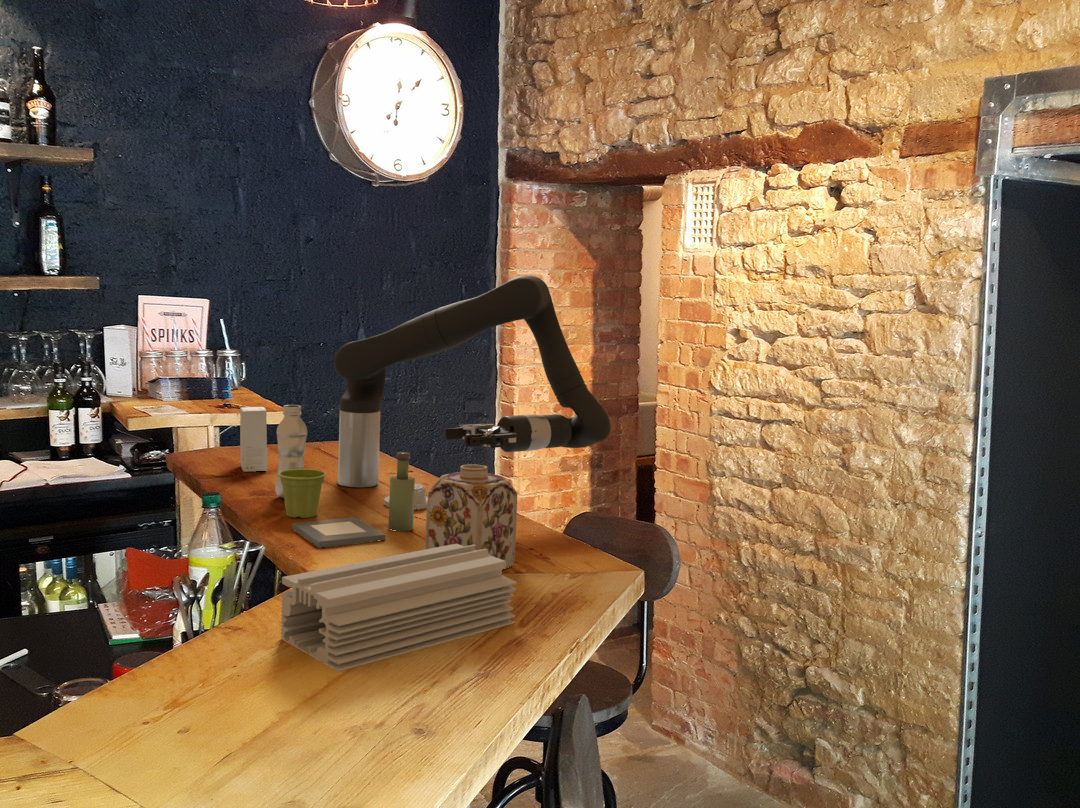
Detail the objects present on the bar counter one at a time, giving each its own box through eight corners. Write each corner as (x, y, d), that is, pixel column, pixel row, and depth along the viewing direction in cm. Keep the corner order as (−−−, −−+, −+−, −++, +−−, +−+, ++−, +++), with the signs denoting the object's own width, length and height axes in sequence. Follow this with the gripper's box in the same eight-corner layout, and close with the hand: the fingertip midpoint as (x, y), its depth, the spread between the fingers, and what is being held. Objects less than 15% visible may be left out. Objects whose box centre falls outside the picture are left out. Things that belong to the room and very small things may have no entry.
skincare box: (267, 472, 250) (268, 410, 248) (241, 472, 248) (242, 410, 246) (264, 465, 258) (265, 405, 256) (239, 465, 256) (239, 405, 254)
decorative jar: (477, 582, 174) (481, 476, 171) (422, 568, 180) (425, 465, 177) (516, 566, 184) (521, 465, 181) (463, 554, 190) (467, 456, 187)
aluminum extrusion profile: (514, 625, 155) (517, 559, 154) (338, 673, 134) (340, 598, 132) (453, 599, 165) (456, 538, 164) (280, 641, 144) (282, 571, 143)
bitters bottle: (384, 526, 206) (386, 451, 204) (406, 524, 208) (409, 450, 206) (394, 532, 202) (397, 456, 200) (417, 530, 204) (419, 454, 202)
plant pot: (268, 513, 211) (268, 471, 210) (307, 507, 218) (308, 466, 217) (294, 523, 205) (295, 480, 204) (334, 516, 212) (335, 474, 211)
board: (292, 529, 200) (292, 522, 200) (355, 523, 207) (355, 516, 207) (318, 548, 188) (318, 541, 188) (385, 540, 196) (385, 534, 195)
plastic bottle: (268, 498, 224) (269, 406, 221) (287, 493, 230) (288, 402, 227) (293, 502, 221) (295, 409, 218) (312, 496, 227) (314, 405, 225)
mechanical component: (425, 512, 219) (435, 502, 229) (426, 492, 219) (435, 482, 229) (379, 509, 220) (390, 499, 230) (379, 488, 220) (391, 479, 230)
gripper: (506, 410, 223) (439, 413, 214) (543, 420, 211) (472, 424, 202) (505, 445, 224) (438, 449, 215) (541, 456, 212) (471, 462, 203)
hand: (455, 437), depth 208 cm, fingers open, 8 cm apart
